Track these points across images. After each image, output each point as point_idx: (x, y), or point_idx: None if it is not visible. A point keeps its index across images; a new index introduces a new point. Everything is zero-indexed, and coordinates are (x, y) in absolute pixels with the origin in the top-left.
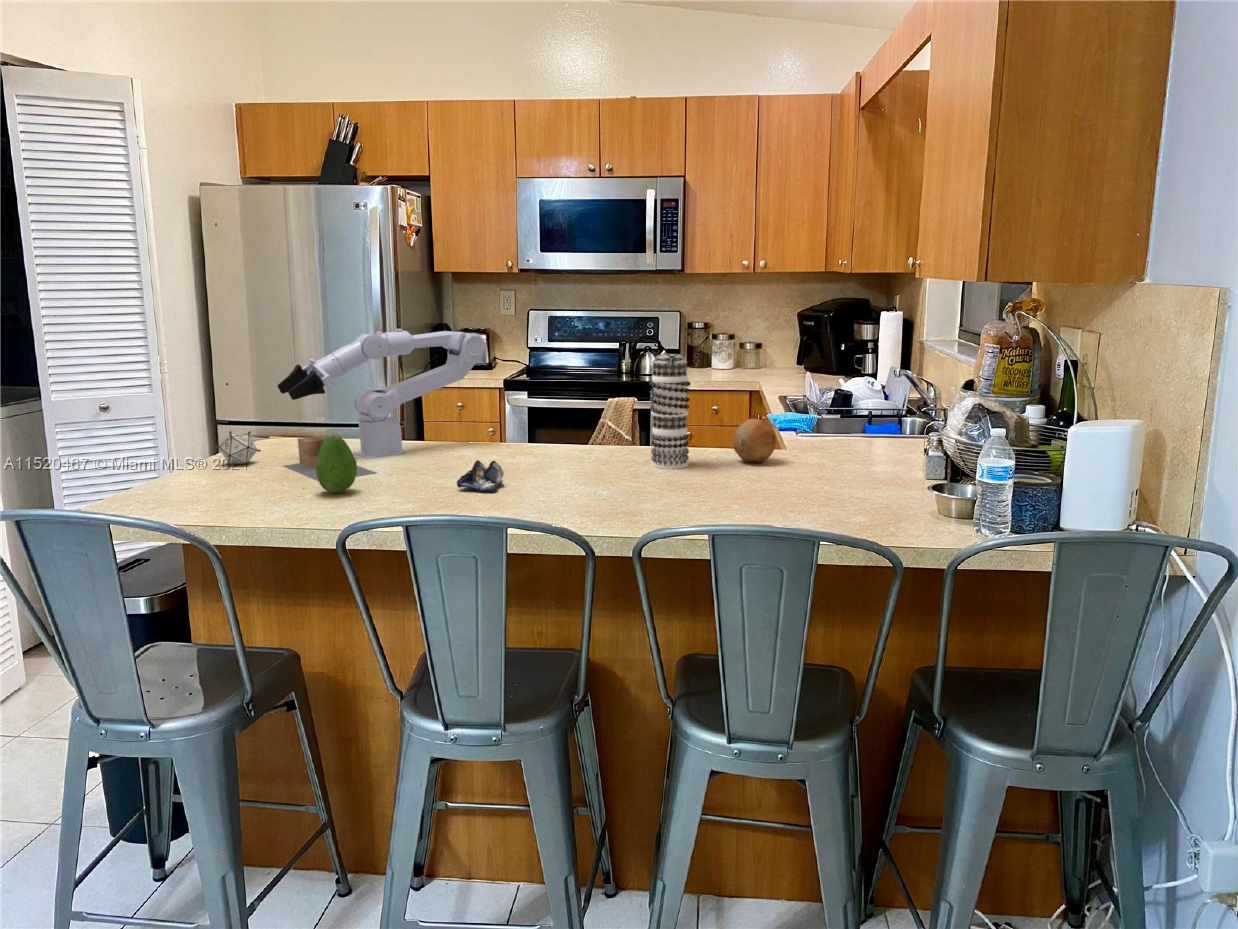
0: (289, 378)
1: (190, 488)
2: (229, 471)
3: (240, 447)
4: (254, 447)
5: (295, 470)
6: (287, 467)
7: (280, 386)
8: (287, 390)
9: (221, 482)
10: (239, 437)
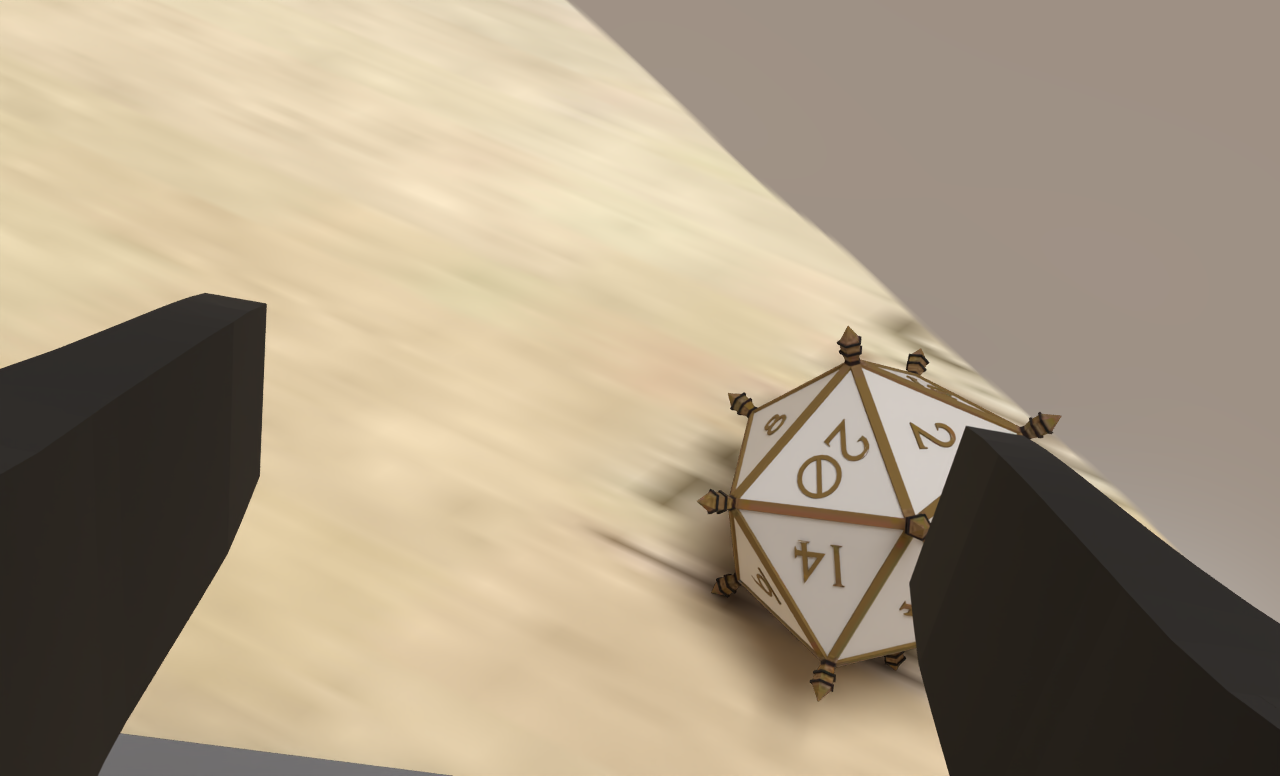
0: (1091, 606)
1: (314, 83)
2: (641, 431)
3: (756, 452)
4: (819, 615)
5: (109, 753)
6: (327, 774)
7: (964, 476)
8: (934, 666)
9: (309, 236)
10: (851, 431)
